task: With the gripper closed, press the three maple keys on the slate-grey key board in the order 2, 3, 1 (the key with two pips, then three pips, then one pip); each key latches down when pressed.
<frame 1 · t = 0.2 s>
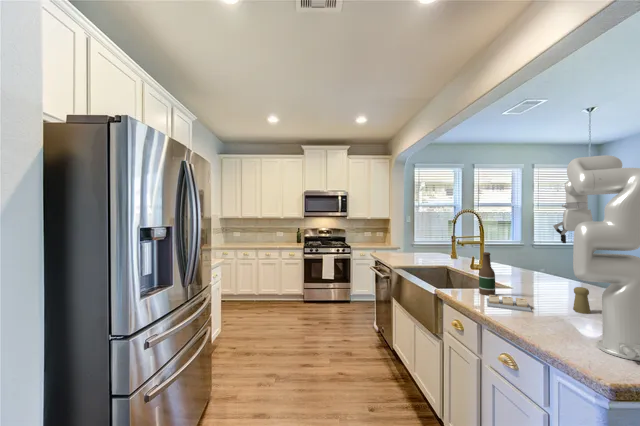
hand: (577, 243, 132), 31 cm above the worktop, tool pointing down, fingers open, 9 cm apart
key 1: (521, 303, 134), point 3 cm above the worktop, slide at 0.0 cm
key board: (507, 308, 136), on the worktop
key 2: (507, 301, 136), point 3 cm above the worktop, slide at 0.0 cm
cork: (581, 312, 130), on the worktop
beer bottle: (487, 296, 156), on the worktop
key 3: (494, 299, 139), point 3 cm above the worktop, slide at 0.0 cm
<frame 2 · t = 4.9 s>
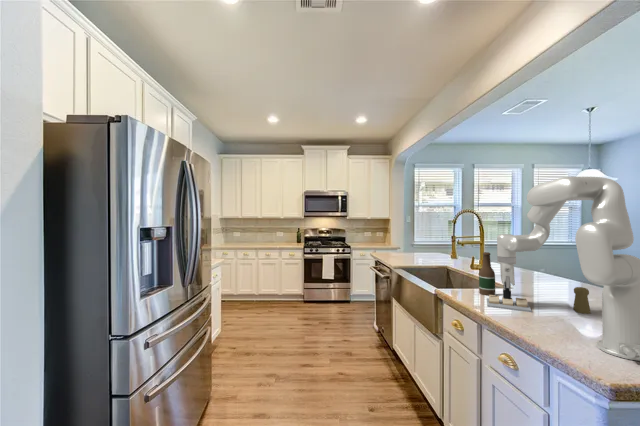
hand: (507, 298, 136), 5 cm above the worktop, tool pointing down, fingers closed
key 2: (507, 302, 136), point 3 cm above the worktop, slide at 0.4 cm, touching gripper
everything else where it was.
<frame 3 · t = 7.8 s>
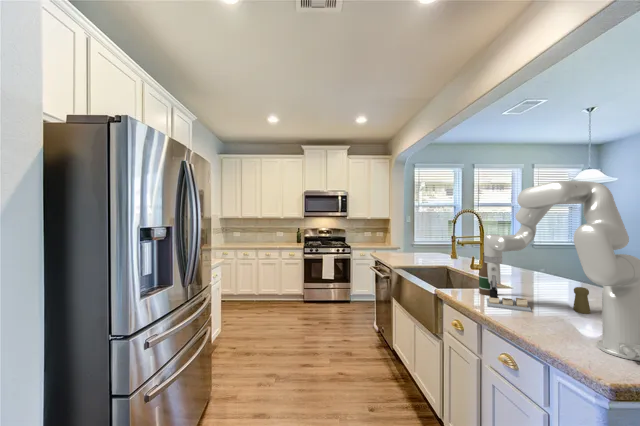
hand: (493, 297, 139), 5 cm above the worktop, tool pointing down, fingers closed
key 2: (507, 303, 136), point 2 cm above the worktop, slide at 0.7 cm
key 3: (494, 301, 139), point 3 cm above the worktop, slide at 0.5 cm, touching gripper
everything else where it was.
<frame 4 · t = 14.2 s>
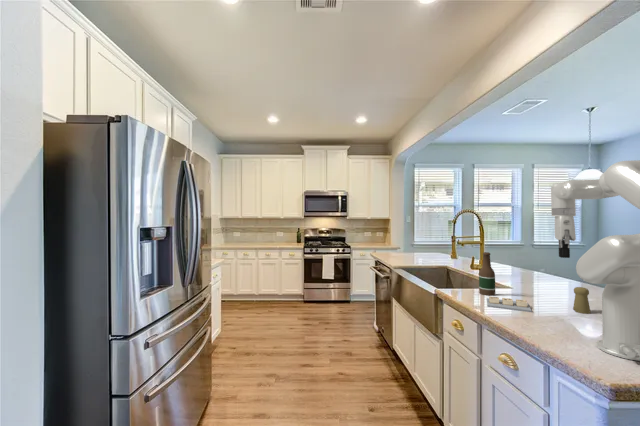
hand: (564, 257, 117), 27 cm above the worktop, tool pointing down, fingers closed
key 1: (521, 304, 134), point 2 cm above the worktop, slide at 0.7 cm
key 3: (494, 301, 139), point 2 cm above the worktop, slide at 0.7 cm
everything else where it was.
at the end: key 2 slide at 0.7 cm; key 3 slide at 0.7 cm; key 1 slide at 0.7 cm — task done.
